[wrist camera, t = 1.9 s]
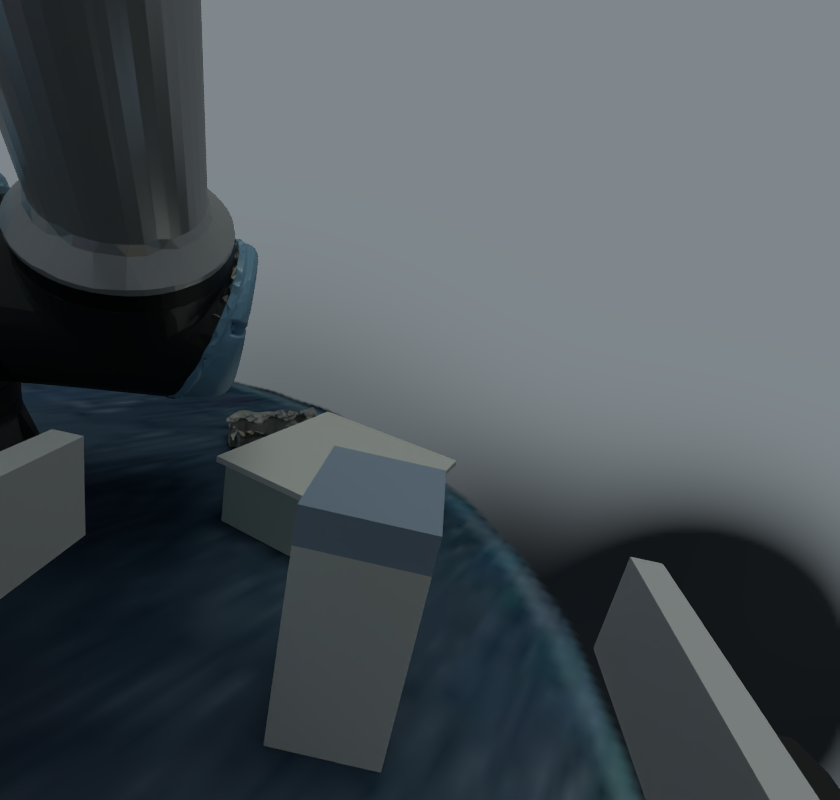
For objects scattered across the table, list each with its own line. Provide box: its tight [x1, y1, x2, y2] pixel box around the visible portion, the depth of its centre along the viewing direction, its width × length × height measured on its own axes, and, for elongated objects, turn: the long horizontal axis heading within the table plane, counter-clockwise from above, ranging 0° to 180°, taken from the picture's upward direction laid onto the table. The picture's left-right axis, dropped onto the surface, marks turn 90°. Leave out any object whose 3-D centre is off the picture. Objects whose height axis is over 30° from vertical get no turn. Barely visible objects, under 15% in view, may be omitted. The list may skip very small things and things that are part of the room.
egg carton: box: [227, 408, 318, 448], centre depth 53 cm, size 11×8×4 cm
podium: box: [216, 412, 456, 556], centre depth 42 cm, size 15×15×6 cm
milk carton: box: [263, 446, 446, 773], centre depth 24 cm, size 6×6×14 cm
